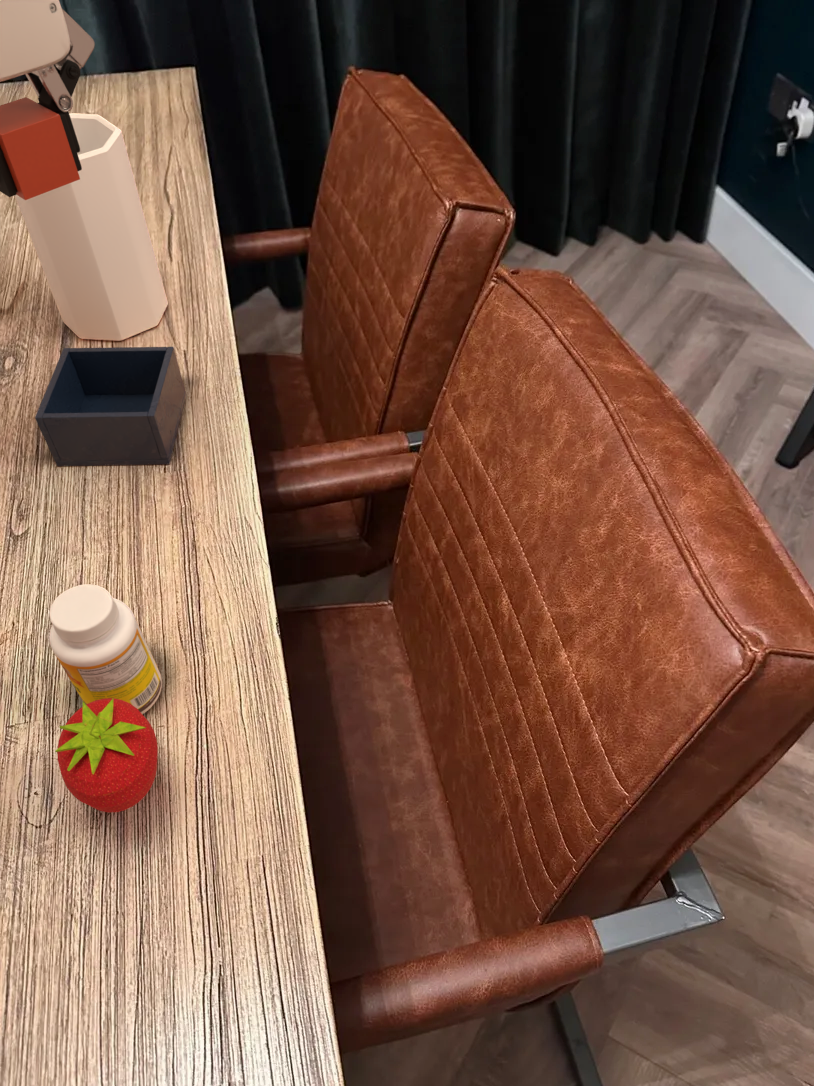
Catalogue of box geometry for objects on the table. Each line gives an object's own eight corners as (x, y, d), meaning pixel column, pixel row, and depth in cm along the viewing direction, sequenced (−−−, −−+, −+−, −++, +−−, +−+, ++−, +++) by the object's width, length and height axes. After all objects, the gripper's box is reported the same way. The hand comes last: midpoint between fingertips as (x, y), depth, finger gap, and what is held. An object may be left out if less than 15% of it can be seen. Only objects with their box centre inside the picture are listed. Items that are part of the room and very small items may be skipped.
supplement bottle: (88, 668, 65) (39, 579, 57) (164, 657, 66) (126, 568, 58) (83, 732, 62) (31, 647, 54) (163, 719, 62) (123, 633, 54)
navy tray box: (56, 466, 79) (34, 417, 75) (82, 396, 86) (63, 347, 81) (169, 464, 79) (154, 415, 75) (186, 394, 86) (173, 346, 82)
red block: (25, 200, 62) (0, 134, 59) (-7, 180, 64) (-33, 115, 61) (80, 179, 64) (59, 114, 61) (48, 160, 66) (26, 96, 63)
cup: (162, 278, 99) (115, 104, 85) (175, 332, 93) (126, 153, 78) (60, 295, 97) (-6, 119, 83) (66, 351, 90) (-5, 170, 76)
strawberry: (165, 733, 62) (126, 650, 54) (186, 825, 57) (147, 749, 50) (79, 761, 60) (26, 679, 52) (95, 858, 56) (39, 785, 48)
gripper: (21, -174, 56) (106, 127, 70) (-260, -128, 48) (-99, 201, 62) (85, -156, 52) (162, 156, 66) (-204, -104, 44) (-48, 238, 59)
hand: (35, 175), depth 64 cm, fingers closed on red block, 4 cm apart
